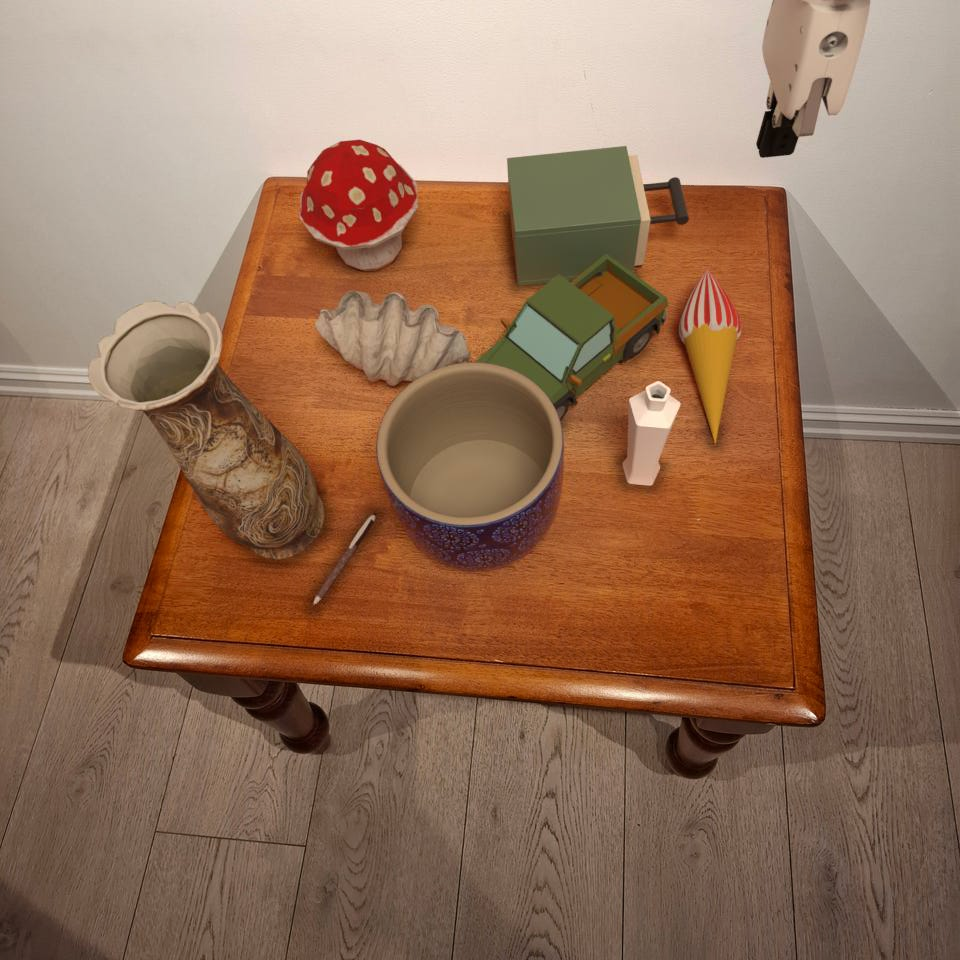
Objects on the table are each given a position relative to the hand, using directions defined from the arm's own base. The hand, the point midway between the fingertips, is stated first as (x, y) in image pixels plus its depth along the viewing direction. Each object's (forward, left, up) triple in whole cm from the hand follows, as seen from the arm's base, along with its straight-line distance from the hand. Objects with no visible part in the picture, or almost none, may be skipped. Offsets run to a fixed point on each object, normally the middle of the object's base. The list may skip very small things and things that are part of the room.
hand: (774, 150), depth 80 cm
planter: (+31, +26, -19) cm, 45 cm away
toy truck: (+20, +9, -19) cm, 29 cm away
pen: (+45, +30, -19) cm, 57 cm away
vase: (+52, +25, -19) cm, 61 cm away
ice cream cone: (+6, +11, -19) cm, 23 cm away
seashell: (+39, +7, -19) cm, 44 cm away
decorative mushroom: (+42, -10, -19) cm, 47 cm away
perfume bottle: (+14, +23, -19) cm, 33 cm away
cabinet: (+18, -8, -19) cm, 27 cm away
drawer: (+14, -8, -18) cm, 24 cm away
